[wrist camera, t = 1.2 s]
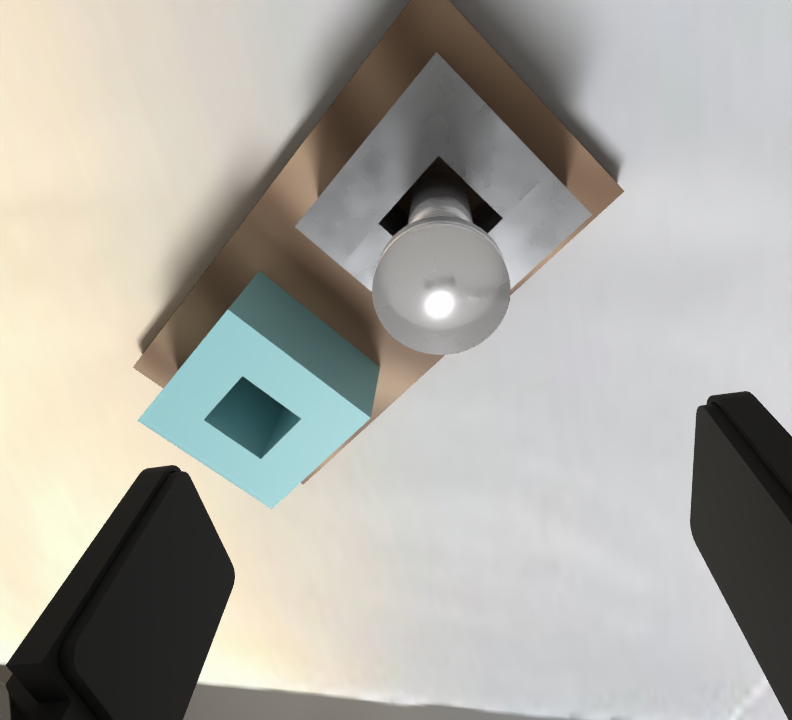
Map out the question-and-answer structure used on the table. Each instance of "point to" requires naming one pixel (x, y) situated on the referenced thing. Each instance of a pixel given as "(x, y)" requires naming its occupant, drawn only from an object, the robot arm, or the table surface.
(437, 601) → the table surface
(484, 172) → the plate
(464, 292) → the lock pin
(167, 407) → the teal socket
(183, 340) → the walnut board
